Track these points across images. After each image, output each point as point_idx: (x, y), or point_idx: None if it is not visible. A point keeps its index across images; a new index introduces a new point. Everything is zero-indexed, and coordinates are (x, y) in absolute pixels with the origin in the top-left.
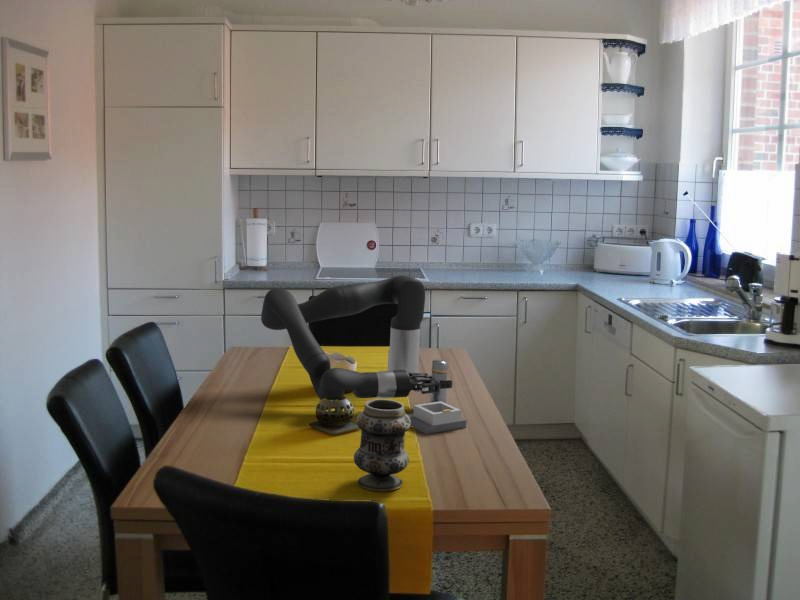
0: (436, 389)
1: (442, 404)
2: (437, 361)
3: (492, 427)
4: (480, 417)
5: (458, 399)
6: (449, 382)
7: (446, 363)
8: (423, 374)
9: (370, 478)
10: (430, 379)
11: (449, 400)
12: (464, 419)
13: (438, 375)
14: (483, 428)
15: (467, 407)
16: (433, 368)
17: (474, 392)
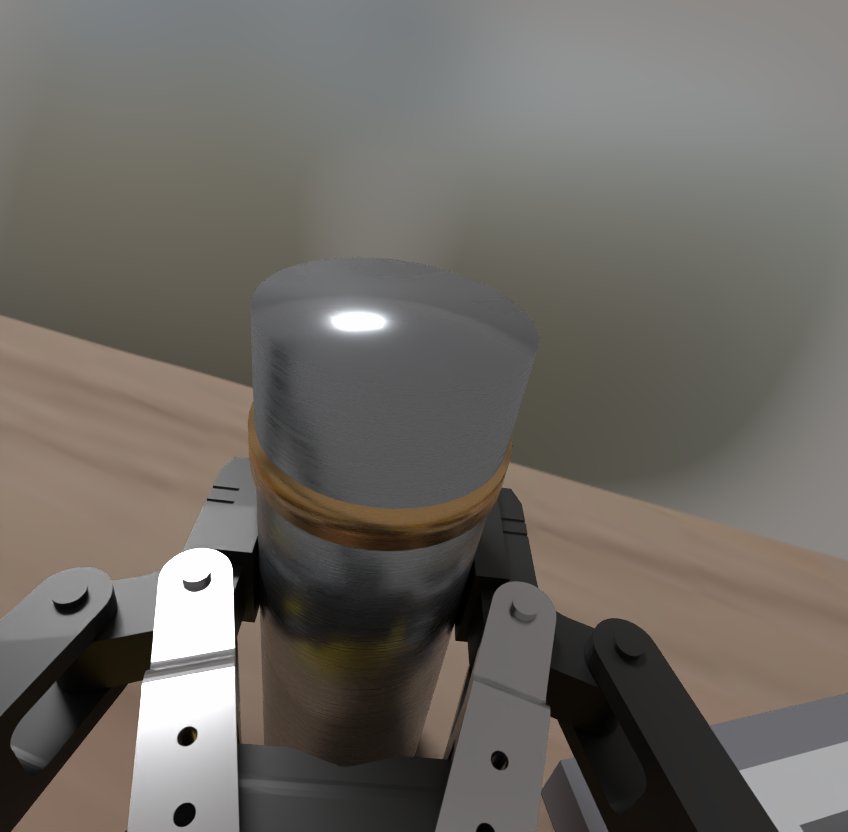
0: (617, 724)
1: (834, 816)
2: (393, 334)
3: (756, 564)
4: (566, 537)
5: (166, 483)
6: (506, 498)
7: (509, 306)
8: (166, 686)
9: None
10: (537, 707)
11: (150, 538)
12: (845, 699)
13: (478, 531)
14: (796, 618)
15: None
16: (411, 494)
17: (100, 371)
